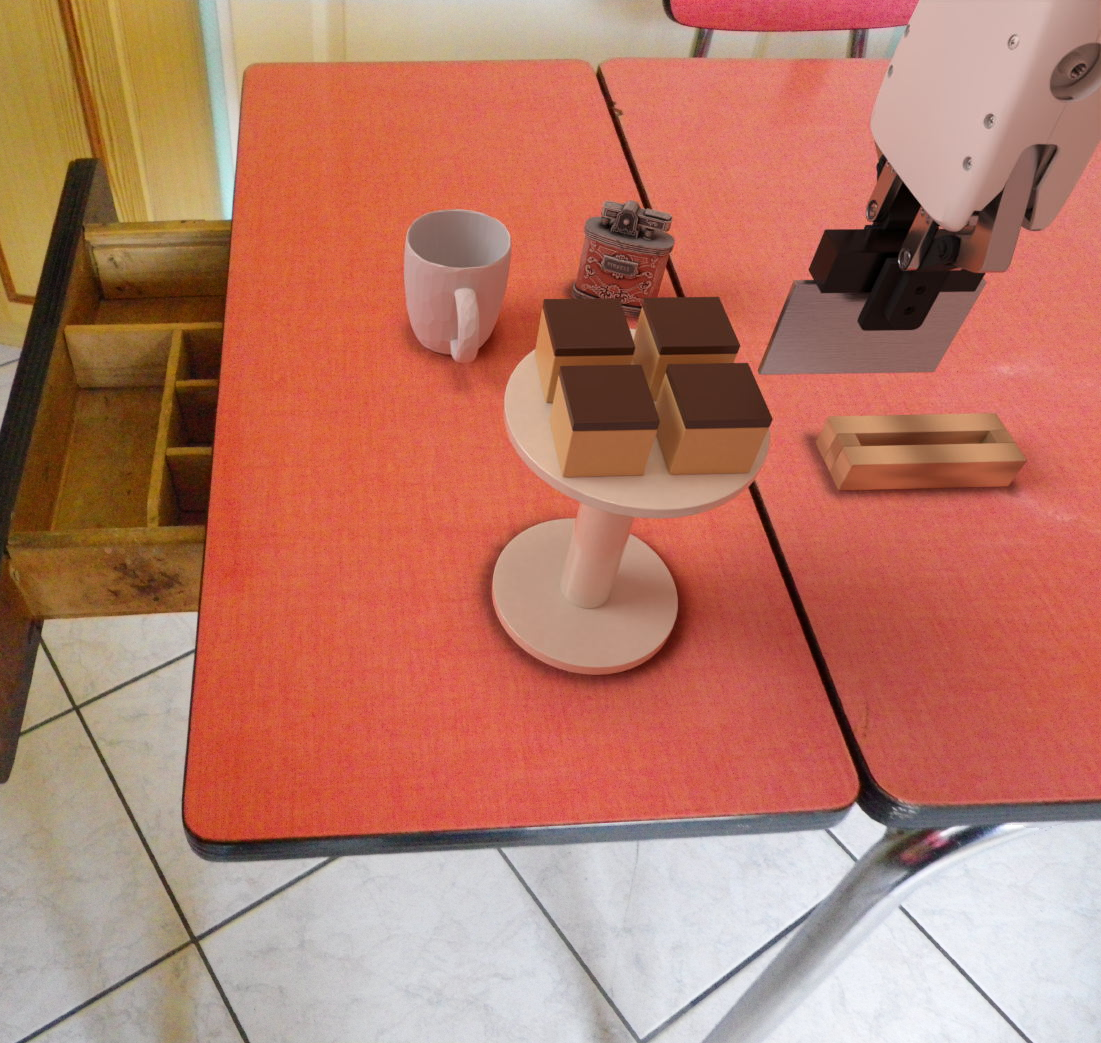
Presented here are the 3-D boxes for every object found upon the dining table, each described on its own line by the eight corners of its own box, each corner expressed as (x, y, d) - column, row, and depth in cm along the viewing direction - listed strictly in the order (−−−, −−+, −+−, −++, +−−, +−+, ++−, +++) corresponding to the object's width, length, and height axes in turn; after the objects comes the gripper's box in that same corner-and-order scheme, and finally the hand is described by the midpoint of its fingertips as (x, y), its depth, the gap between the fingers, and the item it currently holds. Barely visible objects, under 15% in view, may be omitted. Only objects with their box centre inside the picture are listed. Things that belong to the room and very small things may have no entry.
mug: (397, 305, 89) (399, 209, 82) (491, 301, 90) (502, 205, 82) (412, 397, 81) (417, 300, 73) (516, 391, 82) (531, 295, 74)
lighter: (567, 300, 90) (585, 205, 83) (577, 280, 92) (595, 186, 85) (651, 322, 89) (677, 227, 81) (659, 302, 91) (685, 207, 83)
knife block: (978, 439, 80) (996, 412, 77) (1008, 486, 76) (1027, 460, 74) (815, 442, 79) (828, 415, 77) (837, 490, 75) (852, 464, 73)
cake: (700, 350, 58) (719, 296, 55) (749, 473, 51) (773, 419, 48) (534, 353, 57) (543, 298, 54) (562, 477, 51) (574, 423, 48)
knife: (925, 358, 54) (1000, 227, 48) (940, 382, 53) (1019, 250, 46) (752, 361, 53) (804, 228, 47) (763, 385, 52) (818, 252, 46)
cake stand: (724, 581, 69) (811, 395, 55) (626, 729, 61) (699, 555, 47) (547, 487, 75) (586, 297, 61) (436, 611, 67) (452, 425, 53)
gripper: (1310, -3, 31) (1016, 413, 45) (1064, -154, 41) (887, 224, 55) (1088, -5, 30) (862, 416, 44) (895, -157, 41) (761, 224, 55)
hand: (877, 307), depth 50 cm, fingers closed on knife, 2 cm apart
